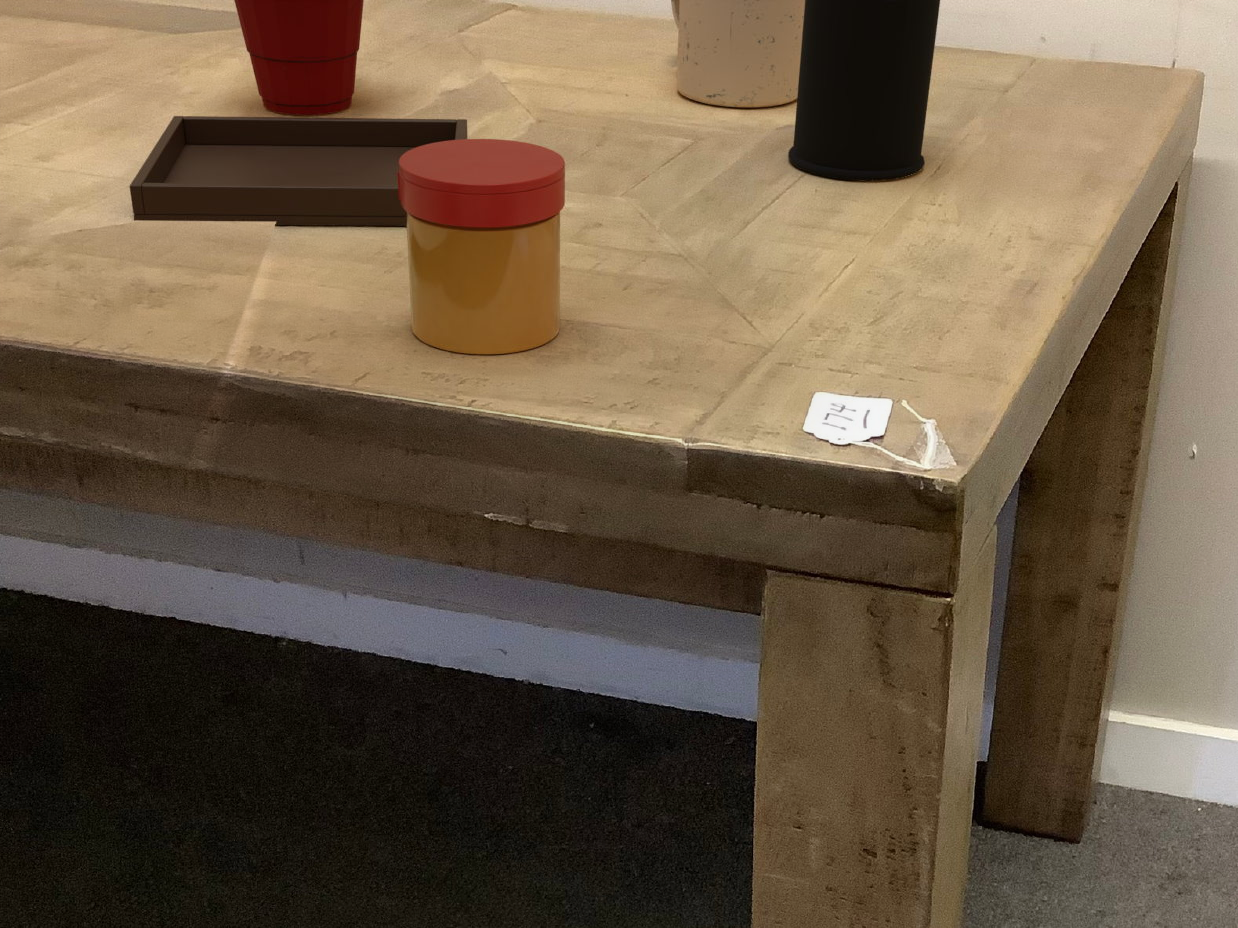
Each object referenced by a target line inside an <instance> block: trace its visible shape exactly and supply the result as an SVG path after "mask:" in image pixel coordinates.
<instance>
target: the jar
mask: <svg viewBox="0 0 1238 928" xmlns="http://www.w3.org/2000/svg"><path fill="white" fill-rule="evenodd" d="M406 221H407V226H406V238H407V239H406V241H407V259H408V281H409V299H410V320H411V321H410V322H411V330H412V333H413V335H415V337H416V338H417V339H418V340H419V341H421V342H422V343H424V344H426V345H429V346H431V347H434V348H437V349H439V350H444V351H448V352H453V353H460V354H469V355H504V354H512V353H519V352H523V351H528V350H532V349H535V348H537V347H541V346H543V345H545V344H547V343H549V342H551V341H552V340H553V339H554V338H556V337H557V335H558V334H559V332H560V327H561V211H560V212H559V213H557V214H555V215H554V216H551V217H549V218H547V219H544V220H541V221H537V222H533V223H528V224H523V225H516V226H507V227H461V226H452V225H445V224H439V223H435V222H431V221H427V220H424V219H421V218H418V217H416V216H413V215H411V214H410V213H408V212H407V211H406Z"/></svg>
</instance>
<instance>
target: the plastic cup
mask: <svg viewBox="0 0 1238 928" xmlns="http://www.w3.org/2000/svg"><path fill="white" fill-rule="evenodd" d="M233 1H234V4H235V9H236V13H237V16H238V20H239V24H240V28H241V32H242V36H243V40H244V44H245V48H246V51H247V53H248V54H249V57H250V62H251V66H252V71H253V74H254V79H255V83H256V87H257V92H258V95H259V96H260V97H261V100H262V101H261V102H262V106H264V108H265V109H266V110H269V111H271V112H274V113H278V114H283V115H284V114H285V115H291V116H319V115H320V116H321V115H327V114H332V113H338V112H342V111H345V110H347V109H349V108H351V105H352V102H353V95H354V93H355V87H356V86H355V85H356V73H357V62H358V61H357V60H358V52H359V50H360V44H361V32H362V23H363V12H364V9H363V8H364V0H233Z"/></svg>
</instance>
